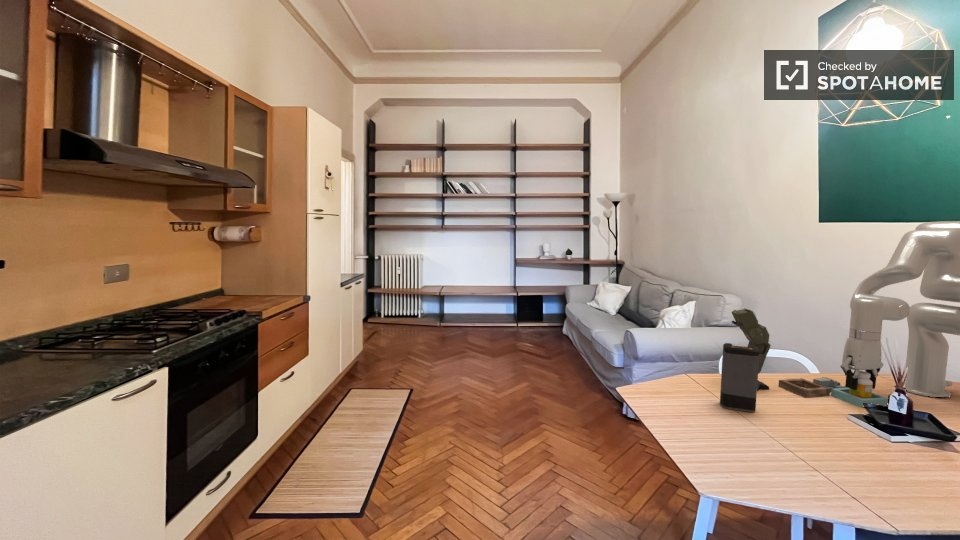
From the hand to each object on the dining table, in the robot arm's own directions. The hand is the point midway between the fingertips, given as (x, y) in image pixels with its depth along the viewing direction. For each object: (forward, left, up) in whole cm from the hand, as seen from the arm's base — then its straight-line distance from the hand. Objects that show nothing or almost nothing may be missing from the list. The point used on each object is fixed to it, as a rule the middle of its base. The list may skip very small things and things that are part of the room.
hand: (860, 387), depth 132 cm
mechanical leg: (+27, -17, -5) cm, 32 cm away
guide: (-1, -10, -5) cm, 11 cm away
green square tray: (0, 0, -5) cm, 5 cm away
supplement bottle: (0, 0, -5) cm, 5 cm away
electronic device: (+45, -2, -5) cm, 45 cm away
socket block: (+11, -10, -5) cm, 15 cm away
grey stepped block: (+2, -10, -5) cm, 11 cm away
